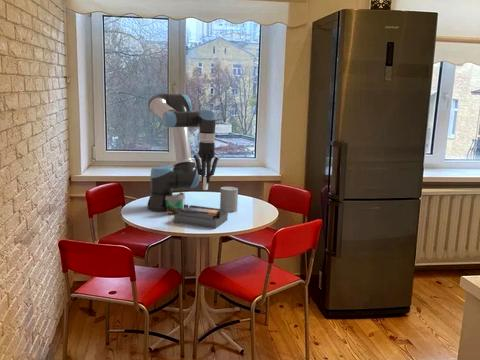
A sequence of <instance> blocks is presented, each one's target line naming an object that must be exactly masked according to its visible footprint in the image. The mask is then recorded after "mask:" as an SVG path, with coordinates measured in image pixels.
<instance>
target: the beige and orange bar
mask: <svg viewBox="0 0 480 360" xmlns="http://www.w3.org/2000/svg"><path fill="white" fill-rule="evenodd" d="M182 211H185V212H193V213H200V214H208V215H214V216H216V215H217V211H219V210H210V209H200V208H191V207H189V206H188V207H185V208H184V207H183V209H182Z"/></svg>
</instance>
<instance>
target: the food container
mask: <svg viewBox="0 0 480 360" xmlns="http://www.w3.org/2000/svg"><path fill="white" fill-rule="evenodd" d="M185 198H186V197H185V194H184V192H181V191H179V193H178V194H173V195H172V196H166V198H165V200H166V205H167V211H166V214H167V215H169V216H171V215H172V216H174V214H176V213H178V208H182V209H183V208H184V200H185Z"/></svg>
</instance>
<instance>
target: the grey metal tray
mask: <svg viewBox="0 0 480 360" xmlns="http://www.w3.org/2000/svg"><path fill="white" fill-rule="evenodd" d="M185 207H191V208H200V209H210V210H219V211H217V215H216V216H214V215H208V214H200V213H193V212H185V211H182V208H178V213H176V214H174V215H173V223H175V224H180V225H181V224H182V225H187V226H188V225H189V226H194V227H203V228H208V229H209V228H210V229H214V230H216V229H217V228H219V227H220V226H222V225H223V224H224V223H226V222H227V221H228V218H229V217H228V216H229V215H228V214H229V213H228V212H224V209H220V208H215V207H208V206H201V205H193V204H192V205H189V204H183V208H185Z"/></svg>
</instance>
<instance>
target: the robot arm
mask: <svg viewBox="0 0 480 360" xmlns="http://www.w3.org/2000/svg"><path fill="white" fill-rule="evenodd" d="M192 107H193V106H192V101H191V98H190V97H189V96H188V95H187V94H182V93H158V94H155V95H153V96H152V97H151V98H150V99H149V100H148V102H147V108H148V110H149V112H150V113H151V114H152V115H154V116H158V117H160V118H161V119H162V123H163V126H164V127H166V128H172V135H173V144H174V153H175V160H176V162H175V163H174V165H172V164H160V165H154V166H153V167H152V168H151V169H150V176H149V177H150V195H149V199H148V201H147V204H146V207H147V210H149V211H152V212H160V213H162V212H163V213H165V212H166V213H167V205H166V200H165V198H166V196H172V195H174V194H173V191H174V189H176V190H177V189H190V188H191V189H193V188H197V186H198V185H199V183H200V181H201V183H202V190H203V191H207V190H208V189H209V184H210V182H211V177H213V176H214V175H215V172H216V168H217V164H218V161H219V159H220V156H217V155H216V152H215V145H216V144H215V141H216V120H217V119H216V118H217V117H216V114H217V112H216V110H215V109H213V108H201V109H200V110H197V111H196V110H195V111H192ZM189 128H199V129H198V130H199V131H198V132H199V135H198V137H199V138H198V141H199V142H198V152H197V153H196V154H194V155H193V158H194V160H195V161H194V160H193V158H192V151H191V144H190V143H191V142H190V134H189ZM212 160H213V161H212ZM200 179H201V180H200Z"/></svg>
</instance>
